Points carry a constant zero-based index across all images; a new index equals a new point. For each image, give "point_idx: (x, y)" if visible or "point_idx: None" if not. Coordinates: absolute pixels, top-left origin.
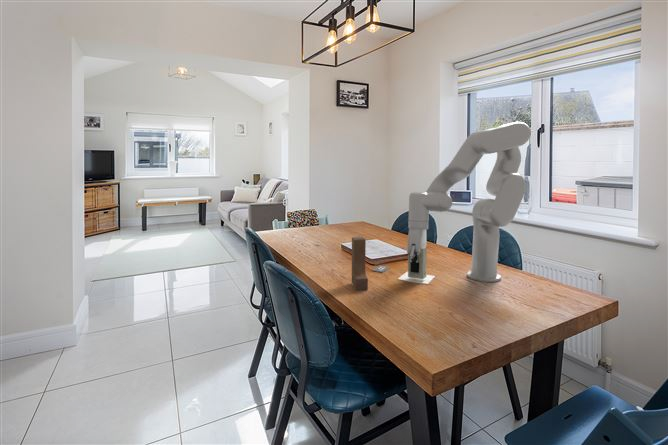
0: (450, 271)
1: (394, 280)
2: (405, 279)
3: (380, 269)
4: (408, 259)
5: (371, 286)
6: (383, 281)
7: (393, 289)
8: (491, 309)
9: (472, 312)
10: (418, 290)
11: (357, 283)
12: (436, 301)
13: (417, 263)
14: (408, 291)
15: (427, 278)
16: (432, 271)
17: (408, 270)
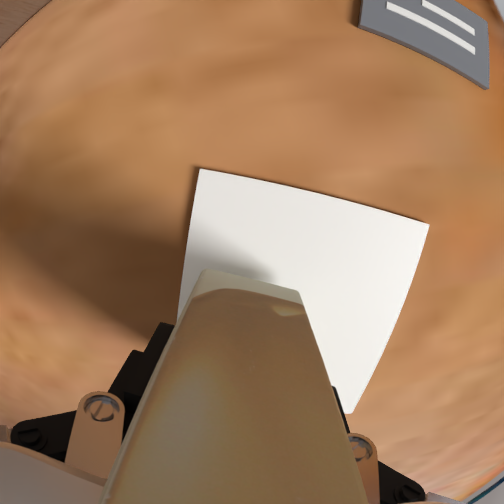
0: (439, 437)
1: (171, 147)
2: (205, 239)
3: (413, 12)
4: (151, 378)
5: (23, 54)
6: (122, 74)
7: (9, 193)
8: None
9: None
10: (54, 334)
11: None
12: (5, 387)
13: None
14: (18, 283)
15: None
16: (449, 376)
17: (188, 298)
